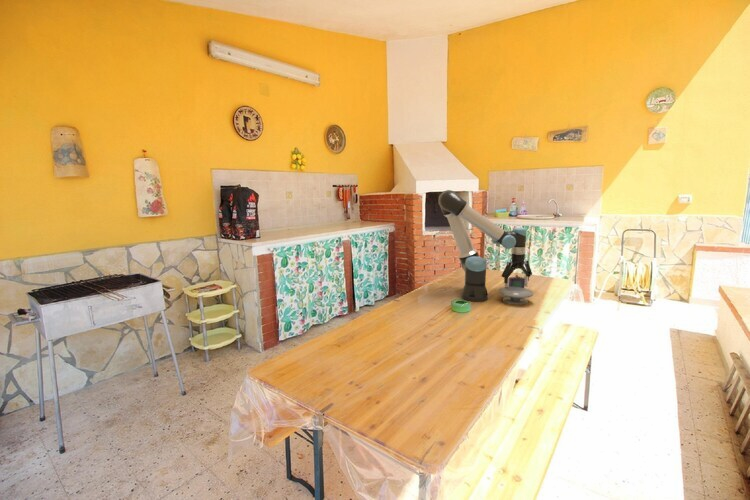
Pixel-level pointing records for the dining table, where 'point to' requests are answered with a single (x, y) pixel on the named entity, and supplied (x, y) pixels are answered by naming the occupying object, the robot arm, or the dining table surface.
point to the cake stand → (515, 295)
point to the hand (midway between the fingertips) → (516, 287)
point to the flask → (516, 281)
